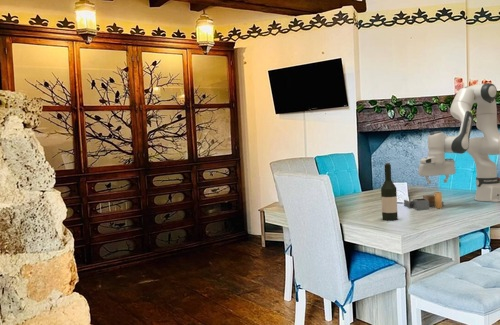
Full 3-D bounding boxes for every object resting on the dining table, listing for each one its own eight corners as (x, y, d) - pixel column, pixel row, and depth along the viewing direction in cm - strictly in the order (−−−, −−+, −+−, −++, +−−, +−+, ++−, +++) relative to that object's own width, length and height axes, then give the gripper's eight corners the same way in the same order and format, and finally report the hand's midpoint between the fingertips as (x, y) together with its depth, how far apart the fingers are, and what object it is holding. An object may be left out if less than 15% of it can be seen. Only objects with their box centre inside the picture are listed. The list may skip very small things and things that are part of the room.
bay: (436, 203, 271) (436, 197, 271) (443, 206, 261) (443, 200, 261) (404, 205, 271) (404, 199, 271) (409, 208, 261) (409, 202, 261)
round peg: (440, 207, 258) (439, 192, 257) (442, 208, 254) (442, 193, 254) (434, 207, 258) (433, 192, 257) (436, 208, 254) (436, 193, 254)
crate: (433, 203, 269) (432, 194, 268) (437, 204, 263) (436, 196, 262) (423, 203, 269) (422, 195, 269) (426, 205, 263) (426, 196, 263)
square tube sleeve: (424, 207, 260) (424, 198, 260) (429, 209, 253) (428, 200, 253) (412, 208, 260) (412, 199, 260) (417, 210, 253) (416, 200, 253)
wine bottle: (379, 218, 238) (376, 163, 236) (394, 217, 238) (391, 162, 237) (385, 221, 229) (382, 164, 228) (400, 220, 230) (398, 163, 228)
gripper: (452, 158, 257) (453, 181, 258) (417, 160, 258) (418, 183, 258) (457, 158, 251) (457, 182, 252) (421, 160, 251) (421, 184, 252)
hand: (437, 183), depth 255 cm, fingers open, 8 cm apart
